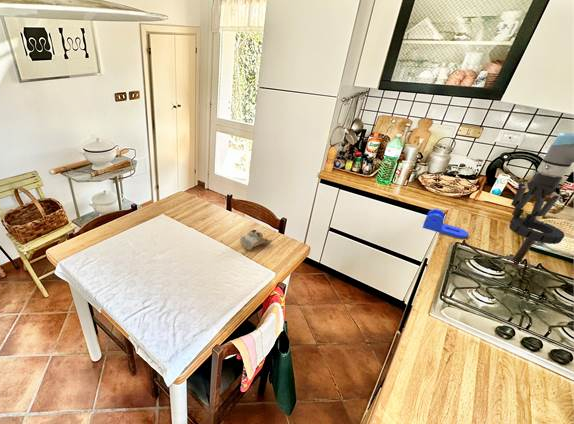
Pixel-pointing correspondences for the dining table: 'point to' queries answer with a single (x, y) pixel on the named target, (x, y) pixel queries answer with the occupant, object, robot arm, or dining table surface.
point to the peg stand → (520, 254)
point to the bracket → (442, 224)
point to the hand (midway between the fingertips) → (517, 225)
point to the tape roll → (548, 235)
